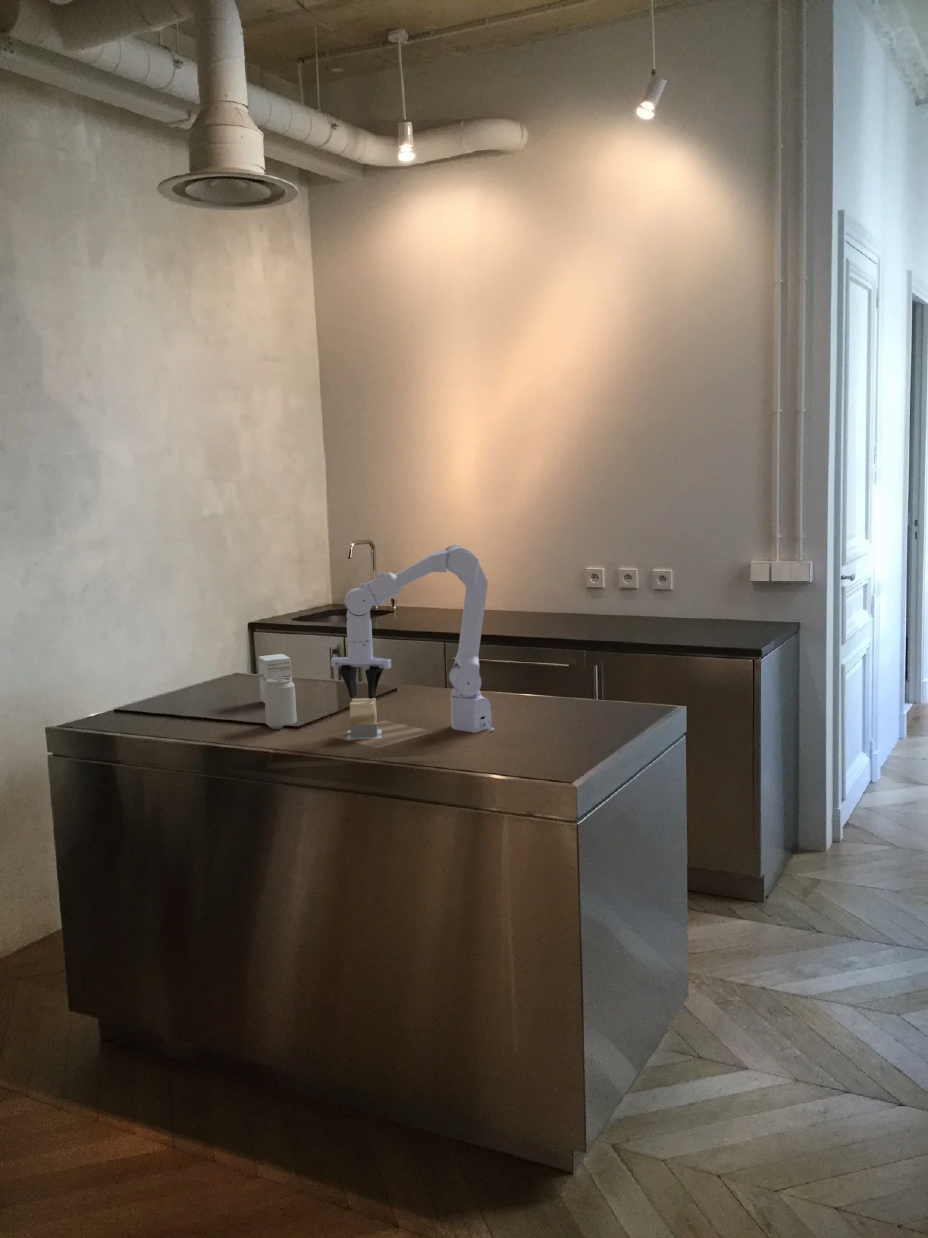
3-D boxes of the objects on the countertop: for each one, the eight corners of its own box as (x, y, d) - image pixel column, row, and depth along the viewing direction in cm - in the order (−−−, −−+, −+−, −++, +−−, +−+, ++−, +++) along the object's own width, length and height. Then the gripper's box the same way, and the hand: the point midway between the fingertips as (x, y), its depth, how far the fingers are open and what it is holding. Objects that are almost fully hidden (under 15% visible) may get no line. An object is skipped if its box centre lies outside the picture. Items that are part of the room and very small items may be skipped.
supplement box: (260, 701, 302) (257, 656, 300) (286, 698, 305) (283, 653, 303) (267, 706, 295) (264, 660, 293) (294, 703, 298) (291, 657, 296)
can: (260, 728, 272) (257, 680, 270) (278, 721, 278) (276, 674, 276) (284, 731, 268) (282, 682, 266) (303, 723, 275) (300, 676, 273)
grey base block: (377, 737, 256) (376, 724, 255) (351, 738, 255) (350, 725, 255) (377, 730, 262) (376, 718, 261) (352, 731, 261) (351, 719, 261)
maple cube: (374, 724, 255) (373, 703, 254) (350, 725, 255) (349, 704, 254) (376, 718, 261) (375, 698, 260) (353, 719, 261) (352, 698, 260)
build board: (435, 735, 259) (435, 731, 259) (377, 752, 246) (377, 748, 246) (385, 724, 271) (384, 720, 271) (327, 739, 259) (327, 735, 259)
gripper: (395, 638, 256) (397, 695, 258) (339, 636, 261) (342, 692, 263) (383, 643, 250) (385, 701, 252) (325, 641, 255) (328, 699, 257)
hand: (362, 697), depth 257 cm, fingers open, 4 cm apart
